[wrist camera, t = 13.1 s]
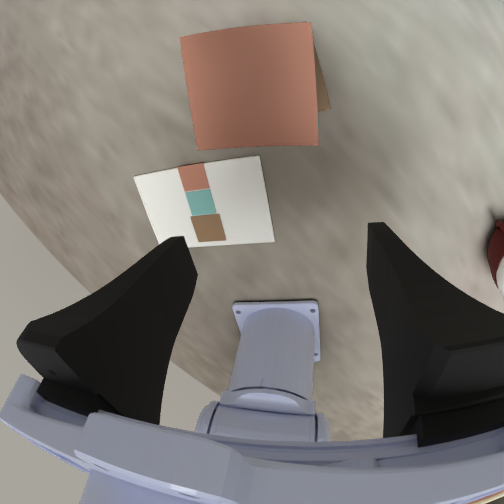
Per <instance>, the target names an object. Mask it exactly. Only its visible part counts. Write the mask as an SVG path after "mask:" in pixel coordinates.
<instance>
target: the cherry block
mask: <svg viewBox="0 0 504 504" xmlns="http://www.w3.org/2000/svg"><path fill="white" fill-rule="evenodd" d="M180 43H181V50H182V57H183V64H184V70H185V77H186V83H187V90H188V96H189V102H190V109H191V115H192V121H193V127H194V133H195V139H196V144H197V150H210V149H223V148H238V147H258V146H294V145H318V115H317V93H316V76H315V61H314V48H313V36H312V25H311V23H282V24H267V25H255V26H246V27H237V28H230V29H223V30H216V31H210V32H205V33H199V34H194V35H189V36H184V37H180Z"/></svg>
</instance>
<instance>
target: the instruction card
mask: <svg viewBox="0 0 504 504" xmlns="http://www.w3.org/2000/svg"><path fill="white" fill-rule="evenodd" d="M134 179H135V182H136V185H137V188H138V190H139V193H140V196H141V199H142V201H143V204H144V207H145V209H146V212H147V215H148V217H149V220H150V222H151V225H152V227H153V230H154V233H155V235H156V238H157V240H158V242H159V244H161V243H162V242H163V241H165V240H166V239H168V238H170V237H175V236H184V238H185V241H186V244H187V246H188V247H202V246H217V245H233V244H248V243H264V242H275V237H274V232H273V226H272V220H271V215H270V209H269V203H268V198H267V193H266V187H265V182H264V176H263V171H262V166H261V160H260V155H257V156H249V157H241V158H234V159H227V160H220V161H213V162H207V163H198V164H192V165H186V166H180V167H177V168H172V169H167V170H162V171H156V172H151V173H147V174H142V175H137V176H134Z"/></svg>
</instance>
